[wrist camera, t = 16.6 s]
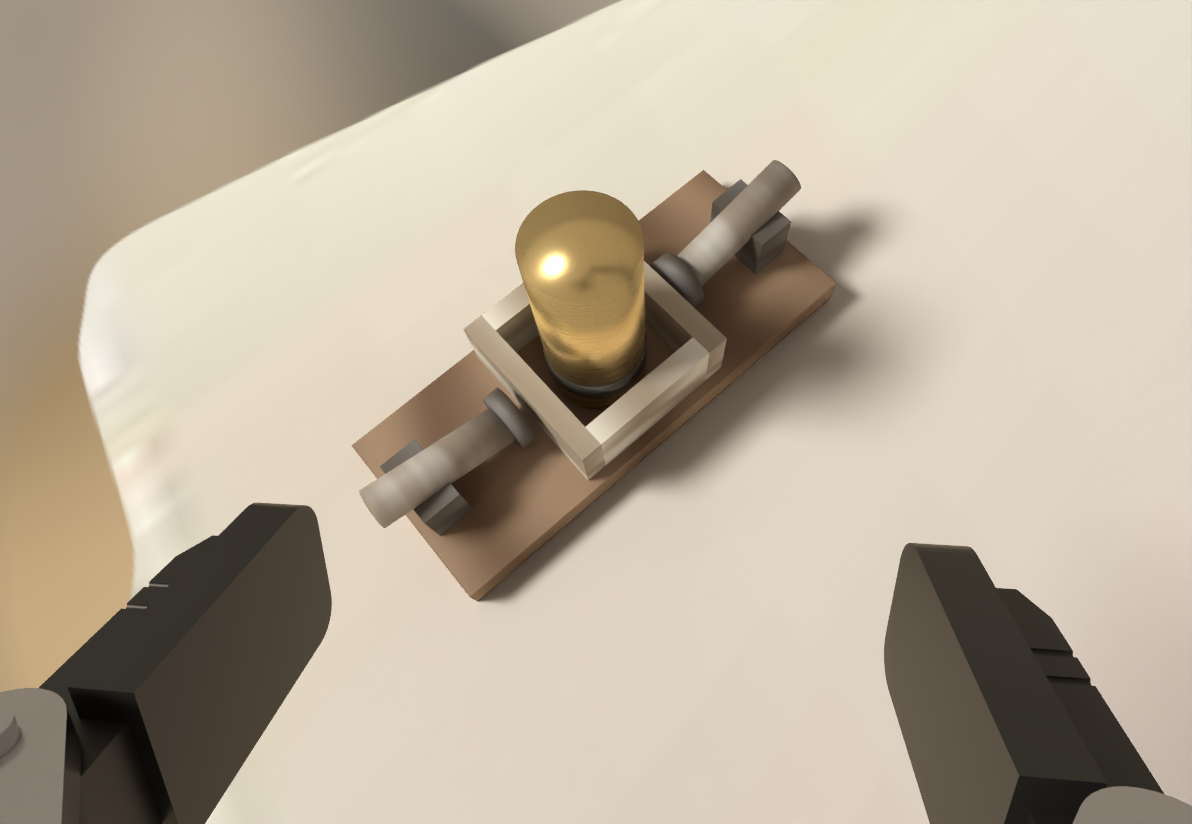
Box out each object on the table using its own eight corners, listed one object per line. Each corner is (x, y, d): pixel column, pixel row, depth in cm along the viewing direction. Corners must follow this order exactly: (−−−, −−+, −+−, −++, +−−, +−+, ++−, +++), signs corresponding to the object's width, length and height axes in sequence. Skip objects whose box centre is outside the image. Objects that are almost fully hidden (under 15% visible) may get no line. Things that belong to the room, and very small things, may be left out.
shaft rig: (713, 179, 41) (721, 102, 35) (840, 288, 38) (870, 222, 32) (349, 466, 36) (297, 426, 31) (462, 613, 33) (427, 597, 28)
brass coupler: (603, 304, 37) (586, 167, 27) (667, 368, 35) (672, 246, 26) (530, 362, 36) (487, 241, 26) (593, 429, 34) (570, 327, 25)
